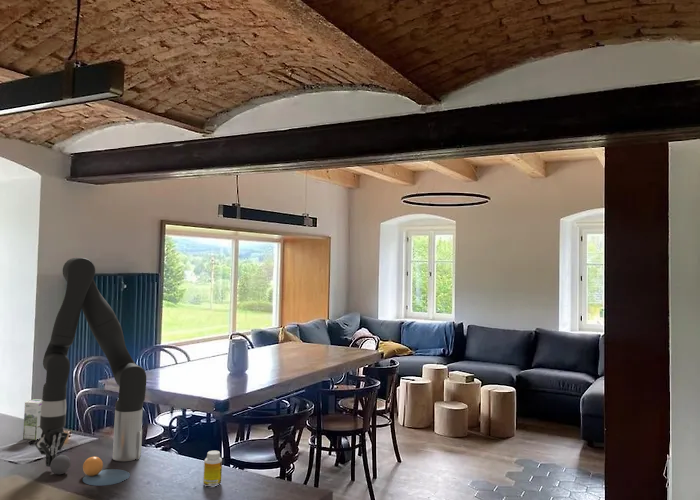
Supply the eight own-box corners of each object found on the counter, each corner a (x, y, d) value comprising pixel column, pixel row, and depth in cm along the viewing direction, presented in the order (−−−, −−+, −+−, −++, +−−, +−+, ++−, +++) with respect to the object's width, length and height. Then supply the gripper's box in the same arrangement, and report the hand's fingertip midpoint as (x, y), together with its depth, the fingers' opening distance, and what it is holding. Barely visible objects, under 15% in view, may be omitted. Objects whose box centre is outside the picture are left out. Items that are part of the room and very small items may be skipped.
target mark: (132, 468, 191) (132, 468, 191) (126, 484, 177) (126, 483, 177) (87, 470, 188) (87, 470, 188) (78, 486, 174) (78, 486, 174)
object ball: (92, 465, 188) (108, 467, 187) (81, 479, 183) (97, 481, 182) (88, 451, 186) (104, 453, 185) (76, 464, 181) (93, 466, 179)
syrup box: (45, 436, 223) (47, 399, 224) (35, 440, 217) (38, 402, 218) (32, 435, 224) (34, 398, 224) (22, 439, 218) (24, 401, 218)
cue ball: (63, 451, 188) (74, 465, 188) (46, 464, 185) (57, 478, 185) (63, 450, 183) (75, 464, 183) (46, 463, 180) (58, 478, 180)
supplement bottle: (222, 487, 178) (223, 454, 178) (204, 489, 176) (205, 455, 177) (219, 480, 183) (221, 449, 184) (202, 482, 181) (203, 450, 182)
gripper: (48, 419, 180) (45, 474, 180) (76, 409, 193) (73, 460, 193) (28, 416, 182) (25, 471, 181) (57, 407, 195) (54, 458, 194)
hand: (50, 465), depth 187 cm, fingers closed
